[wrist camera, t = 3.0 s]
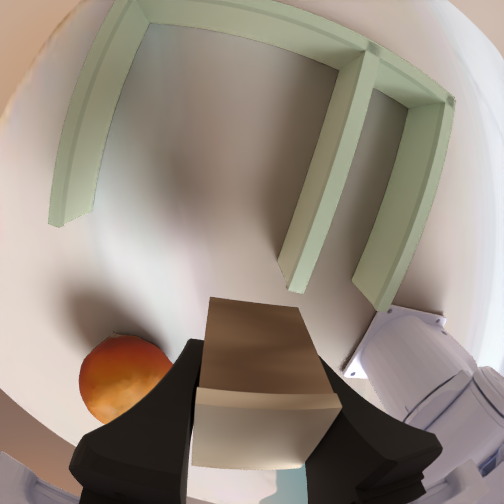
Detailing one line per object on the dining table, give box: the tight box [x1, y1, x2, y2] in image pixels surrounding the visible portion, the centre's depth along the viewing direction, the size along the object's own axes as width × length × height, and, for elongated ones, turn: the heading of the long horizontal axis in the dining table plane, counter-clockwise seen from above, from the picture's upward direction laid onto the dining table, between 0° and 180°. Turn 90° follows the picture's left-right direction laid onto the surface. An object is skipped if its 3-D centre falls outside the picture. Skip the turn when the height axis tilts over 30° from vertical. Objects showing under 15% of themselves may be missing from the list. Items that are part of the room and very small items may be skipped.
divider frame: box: [48, 0, 456, 313], centre depth 14 cm, size 21×15×4 cm
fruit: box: [79, 331, 173, 424], centre depth 18 cm, size 8×8×8 cm
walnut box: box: [192, 297, 342, 470], centre depth 10 cm, size 4×4×6 cm
